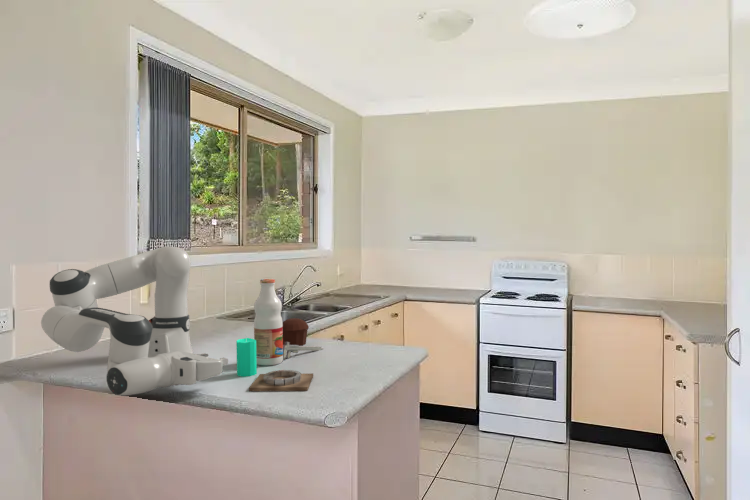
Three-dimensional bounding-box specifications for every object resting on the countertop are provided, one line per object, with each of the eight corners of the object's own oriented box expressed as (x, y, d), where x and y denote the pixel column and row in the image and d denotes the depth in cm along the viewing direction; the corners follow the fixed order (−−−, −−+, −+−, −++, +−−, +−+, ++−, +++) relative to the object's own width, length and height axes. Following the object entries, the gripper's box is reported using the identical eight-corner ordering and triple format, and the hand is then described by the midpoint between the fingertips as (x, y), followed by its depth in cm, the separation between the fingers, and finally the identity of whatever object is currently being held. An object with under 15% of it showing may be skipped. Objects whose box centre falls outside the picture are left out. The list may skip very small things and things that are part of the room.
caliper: (284, 360, 179) (283, 342, 179) (281, 360, 180) (281, 342, 179) (323, 349, 195) (323, 333, 195) (321, 349, 196) (321, 332, 196)
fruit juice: (254, 360, 179) (253, 278, 178) (282, 358, 181) (281, 277, 180) (254, 367, 170) (253, 281, 169) (283, 365, 172) (282, 280, 171)
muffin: (306, 340, 212) (306, 316, 211) (311, 346, 201) (311, 320, 201) (276, 342, 208) (276, 317, 207) (280, 348, 197) (280, 322, 197)
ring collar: (260, 385, 145) (260, 379, 145) (268, 375, 156) (268, 370, 156) (298, 385, 145) (298, 379, 145) (303, 375, 156) (303, 369, 156)
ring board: (249, 391, 143) (249, 387, 143) (260, 377, 157) (260, 374, 157) (307, 390, 143) (307, 387, 143) (313, 376, 157) (313, 373, 157)
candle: (238, 371, 164) (238, 333, 164) (258, 371, 165) (257, 333, 164) (235, 376, 158) (234, 337, 158) (255, 376, 159) (254, 337, 158)
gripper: (153, 373, 148) (196, 364, 159) (194, 386, 136) (238, 374, 146) (152, 351, 148) (195, 343, 159) (194, 362, 135) (238, 352, 146)
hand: (216, 358), depth 153 cm, fingers open, 8 cm apart
